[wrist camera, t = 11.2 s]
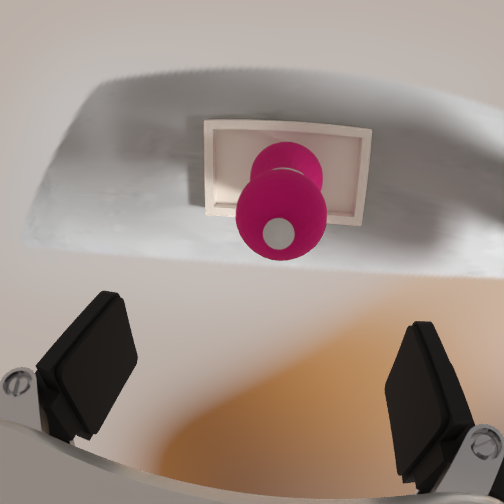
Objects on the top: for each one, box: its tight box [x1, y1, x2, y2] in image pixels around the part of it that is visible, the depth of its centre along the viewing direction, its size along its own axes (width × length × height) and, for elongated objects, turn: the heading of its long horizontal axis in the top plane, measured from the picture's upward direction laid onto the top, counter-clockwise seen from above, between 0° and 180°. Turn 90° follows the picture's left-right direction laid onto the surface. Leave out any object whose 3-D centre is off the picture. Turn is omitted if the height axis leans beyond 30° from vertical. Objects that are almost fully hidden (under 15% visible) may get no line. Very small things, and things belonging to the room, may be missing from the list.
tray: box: [204, 119, 372, 226], centre depth 35 cm, size 18×11×2 cm, turn 89°
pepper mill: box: [236, 142, 327, 261], centre depth 26 cm, size 7×7×20 cm
